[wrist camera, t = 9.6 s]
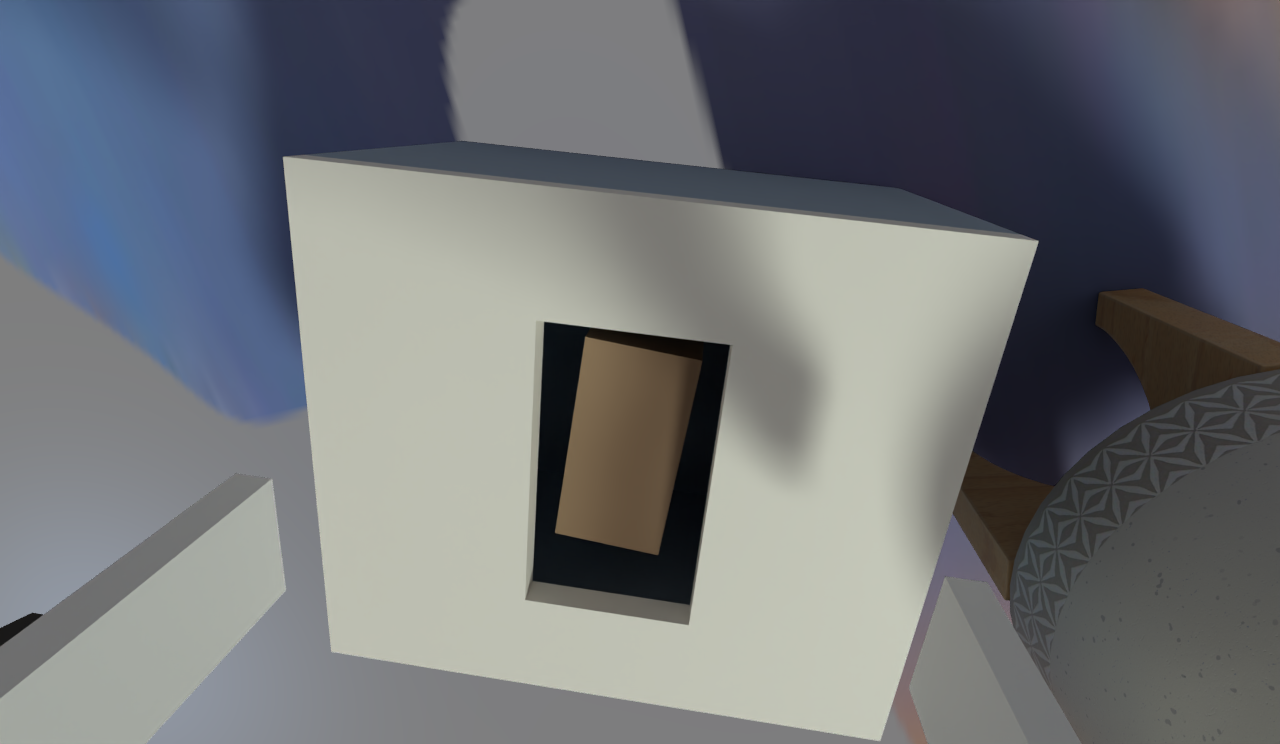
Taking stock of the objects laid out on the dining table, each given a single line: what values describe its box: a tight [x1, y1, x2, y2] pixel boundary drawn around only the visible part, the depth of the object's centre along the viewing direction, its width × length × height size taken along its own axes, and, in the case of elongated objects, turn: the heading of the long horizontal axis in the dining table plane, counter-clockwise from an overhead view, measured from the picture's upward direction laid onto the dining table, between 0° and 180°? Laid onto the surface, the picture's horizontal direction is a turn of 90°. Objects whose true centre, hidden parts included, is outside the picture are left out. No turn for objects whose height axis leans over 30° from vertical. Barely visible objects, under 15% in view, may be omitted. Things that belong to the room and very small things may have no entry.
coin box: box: [283, 141, 1039, 741], centre depth 22 cm, size 14×16×11 cm
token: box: [555, 327, 704, 555], centre depth 22 cm, size 3×6×9 cm, turn 169°
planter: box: [953, 288, 1280, 744], centre depth 18 cm, size 13×13×18 cm
